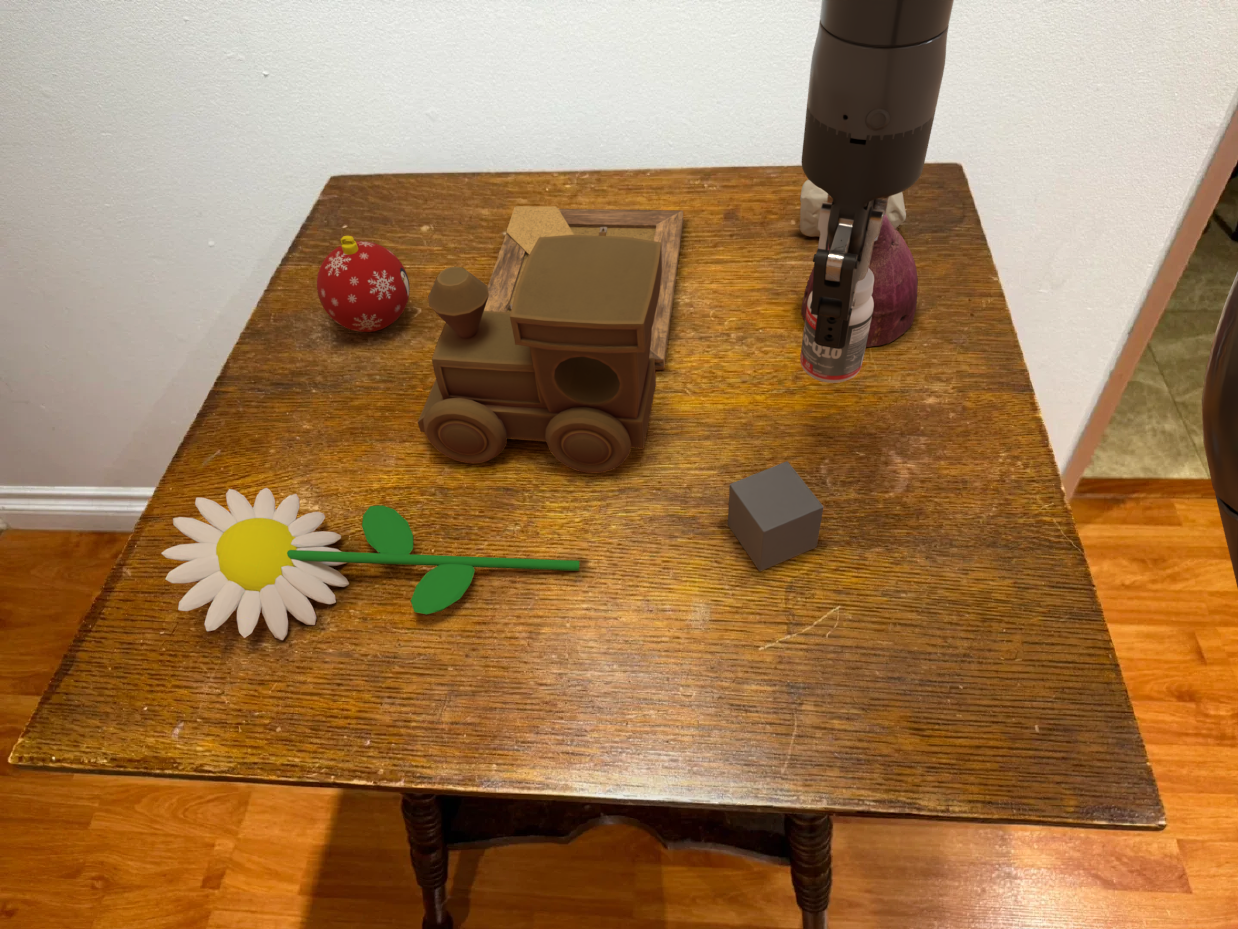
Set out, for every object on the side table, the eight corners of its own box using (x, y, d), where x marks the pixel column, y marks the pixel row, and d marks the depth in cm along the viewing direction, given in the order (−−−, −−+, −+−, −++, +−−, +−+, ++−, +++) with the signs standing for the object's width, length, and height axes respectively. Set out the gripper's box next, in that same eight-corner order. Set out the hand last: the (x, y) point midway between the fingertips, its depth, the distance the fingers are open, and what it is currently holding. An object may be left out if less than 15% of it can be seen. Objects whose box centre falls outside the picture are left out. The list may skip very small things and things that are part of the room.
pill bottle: (787, 365, 69) (796, 277, 63) (825, 335, 71) (838, 247, 65) (836, 394, 67) (851, 305, 60) (874, 362, 69) (892, 274, 62)
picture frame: (517, 219, 99) (467, 364, 84) (514, 205, 98) (463, 350, 82) (683, 222, 97) (664, 371, 81) (683, 208, 95) (663, 357, 80)
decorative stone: (900, 180, 97) (924, 141, 87) (889, 262, 96) (912, 232, 86) (799, 169, 98) (812, 129, 88) (788, 250, 97) (799, 219, 87)
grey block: (817, 547, 68) (824, 506, 64) (759, 572, 66) (763, 532, 63) (782, 501, 71) (787, 460, 67) (727, 524, 70) (729, 483, 66)
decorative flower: (580, 518, 74) (209, 503, 72) (582, 483, 70) (191, 467, 68) (575, 660, 66) (159, 647, 64) (577, 629, 62) (135, 615, 60)
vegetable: (883, 381, 83) (919, 285, 70) (782, 338, 86) (798, 237, 72) (927, 298, 87) (970, 191, 73) (829, 259, 89) (852, 149, 76)
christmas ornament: (344, 295, 92) (312, 211, 85) (425, 293, 91) (401, 208, 84) (323, 351, 86) (287, 266, 79) (409, 349, 86) (382, 263, 78)
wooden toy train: (669, 389, 80) (665, 231, 67) (652, 486, 73) (643, 329, 60) (457, 374, 83) (414, 221, 70) (420, 466, 76) (365, 314, 63)
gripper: (833, 40, 58) (808, 257, 71) (780, 151, 50) (762, 374, 63) (952, 51, 56) (904, 272, 69) (918, 169, 48) (870, 396, 60)
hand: (837, 320), depth 66 cm, fingers closed on pill bottle, 4 cm apart
